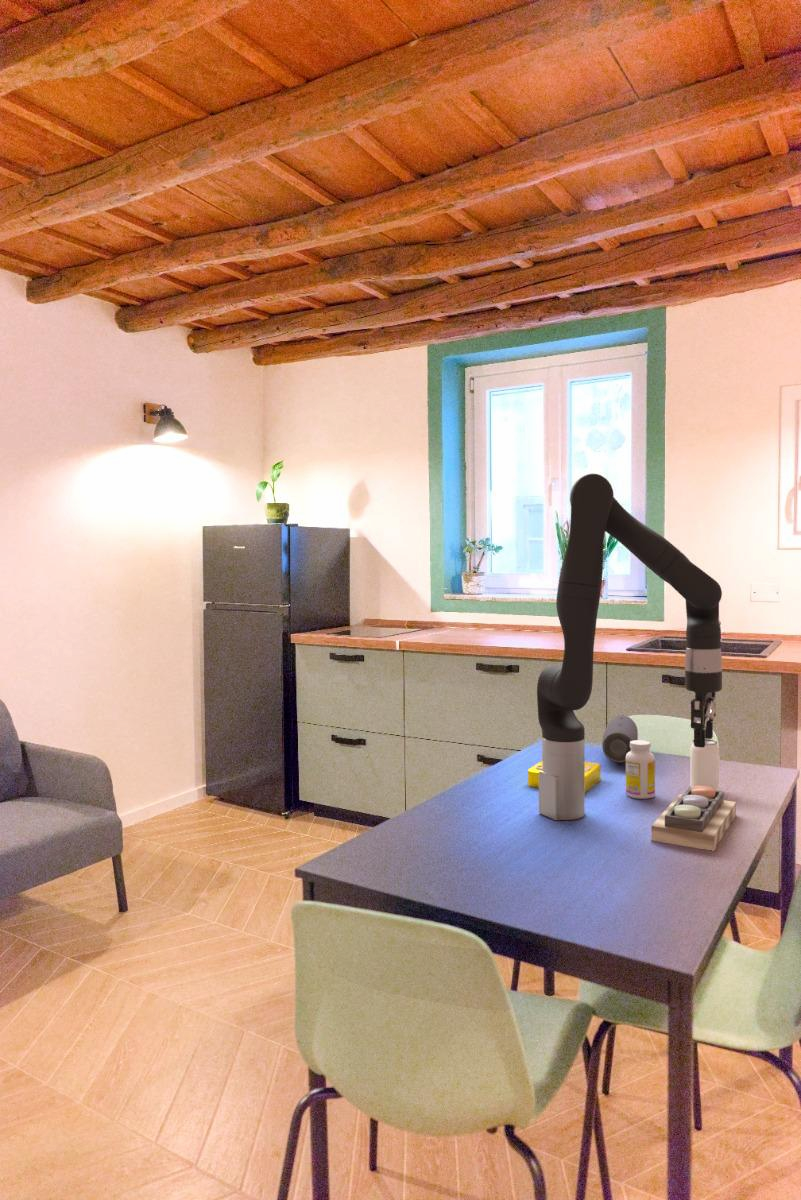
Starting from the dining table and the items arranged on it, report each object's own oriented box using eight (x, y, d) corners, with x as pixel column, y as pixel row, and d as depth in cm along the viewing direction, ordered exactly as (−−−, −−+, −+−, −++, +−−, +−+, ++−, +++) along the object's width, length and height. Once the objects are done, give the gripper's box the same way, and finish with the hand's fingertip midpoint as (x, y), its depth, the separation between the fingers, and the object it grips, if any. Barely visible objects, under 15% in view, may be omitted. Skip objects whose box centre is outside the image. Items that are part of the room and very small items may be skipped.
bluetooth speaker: (605, 746, 243) (605, 712, 242) (638, 748, 240) (638, 714, 239) (600, 766, 221) (600, 729, 221) (636, 768, 218) (636, 731, 218)
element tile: (583, 796, 197) (583, 776, 197) (525, 787, 205) (524, 768, 204) (602, 780, 210) (602, 761, 209) (547, 772, 218) (547, 754, 217)
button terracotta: (712, 802, 176) (712, 793, 176) (688, 798, 178) (688, 790, 178) (717, 795, 180) (717, 787, 180) (693, 792, 183) (693, 784, 182)
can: (721, 795, 195) (721, 745, 194) (692, 793, 196) (692, 744, 195) (716, 787, 201) (716, 738, 200) (688, 785, 202) (688, 737, 201)
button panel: (713, 851, 160) (714, 824, 159) (651, 840, 166) (651, 815, 166) (735, 815, 180) (736, 792, 180) (679, 806, 186) (679, 784, 186)
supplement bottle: (651, 791, 198) (652, 739, 197) (657, 800, 192) (657, 745, 191) (623, 791, 199) (623, 738, 198) (628, 799, 192) (628, 745, 191)
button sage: (697, 822, 163) (697, 814, 163) (671, 818, 166) (671, 810, 165) (702, 815, 167) (702, 806, 167) (677, 811, 170) (677, 803, 170)
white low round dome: (705, 812, 169) (705, 803, 169) (680, 808, 172) (680, 799, 172) (710, 805, 174) (710, 796, 173) (686, 801, 176) (686, 793, 176)
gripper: (715, 674, 170) (715, 752, 171) (727, 664, 182) (727, 737, 183) (678, 672, 173) (678, 748, 175) (692, 662, 186) (692, 733, 187)
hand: (703, 742), depth 179 cm, fingers open, 8 cm apart
